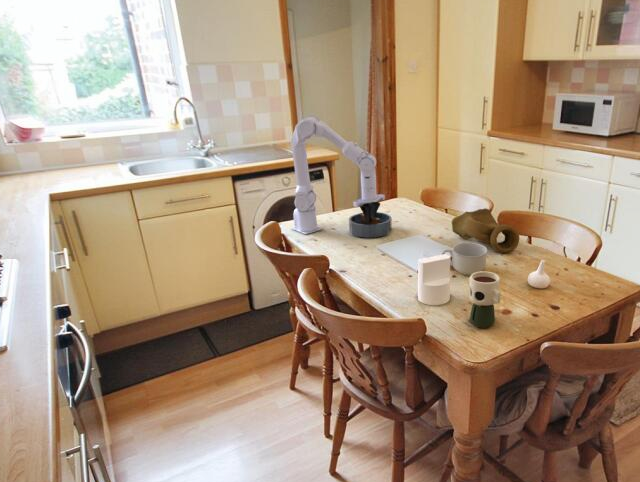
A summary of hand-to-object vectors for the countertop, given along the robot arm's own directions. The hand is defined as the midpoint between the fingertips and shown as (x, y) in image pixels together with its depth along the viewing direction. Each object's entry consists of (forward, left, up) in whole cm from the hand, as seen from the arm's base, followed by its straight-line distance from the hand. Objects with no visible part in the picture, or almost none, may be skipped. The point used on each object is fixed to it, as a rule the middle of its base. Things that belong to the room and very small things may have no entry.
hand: (370, 220), depth 182 cm
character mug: (+73, -27, -5) cm, 78 cm away
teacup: (+50, -5, -5) cm, 50 cm away
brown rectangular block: (0, 0, -1) cm, 1 cm away
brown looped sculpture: (+40, +19, -5) cm, 45 cm away
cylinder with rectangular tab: (+55, -25, -5) cm, 61 cm away
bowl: (0, 0, -4) cm, 4 cm away
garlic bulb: (+72, +2, -5) cm, 72 cm away
